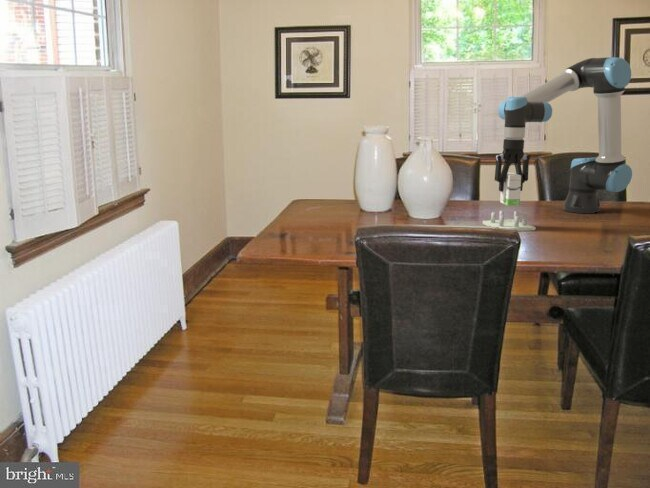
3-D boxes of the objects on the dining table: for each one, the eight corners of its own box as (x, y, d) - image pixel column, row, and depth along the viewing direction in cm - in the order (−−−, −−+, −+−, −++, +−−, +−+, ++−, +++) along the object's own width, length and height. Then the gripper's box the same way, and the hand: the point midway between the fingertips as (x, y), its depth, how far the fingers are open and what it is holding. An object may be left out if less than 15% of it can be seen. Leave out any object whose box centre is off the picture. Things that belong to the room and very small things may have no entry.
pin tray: (515, 222, 280) (515, 209, 279) (535, 230, 265) (536, 216, 264) (482, 223, 277) (483, 210, 276) (501, 231, 262) (502, 218, 261)
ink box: (519, 206, 265) (522, 175, 263) (507, 206, 265) (509, 175, 262) (511, 202, 274) (513, 172, 271) (499, 202, 273) (501, 172, 271)
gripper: (531, 137, 269) (526, 197, 274) (487, 138, 265) (483, 198, 270) (541, 139, 262) (536, 200, 267) (495, 139, 258) (492, 201, 263)
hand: (509, 199), depth 269 cm, fingers closed on ink box, 5 cm apart
